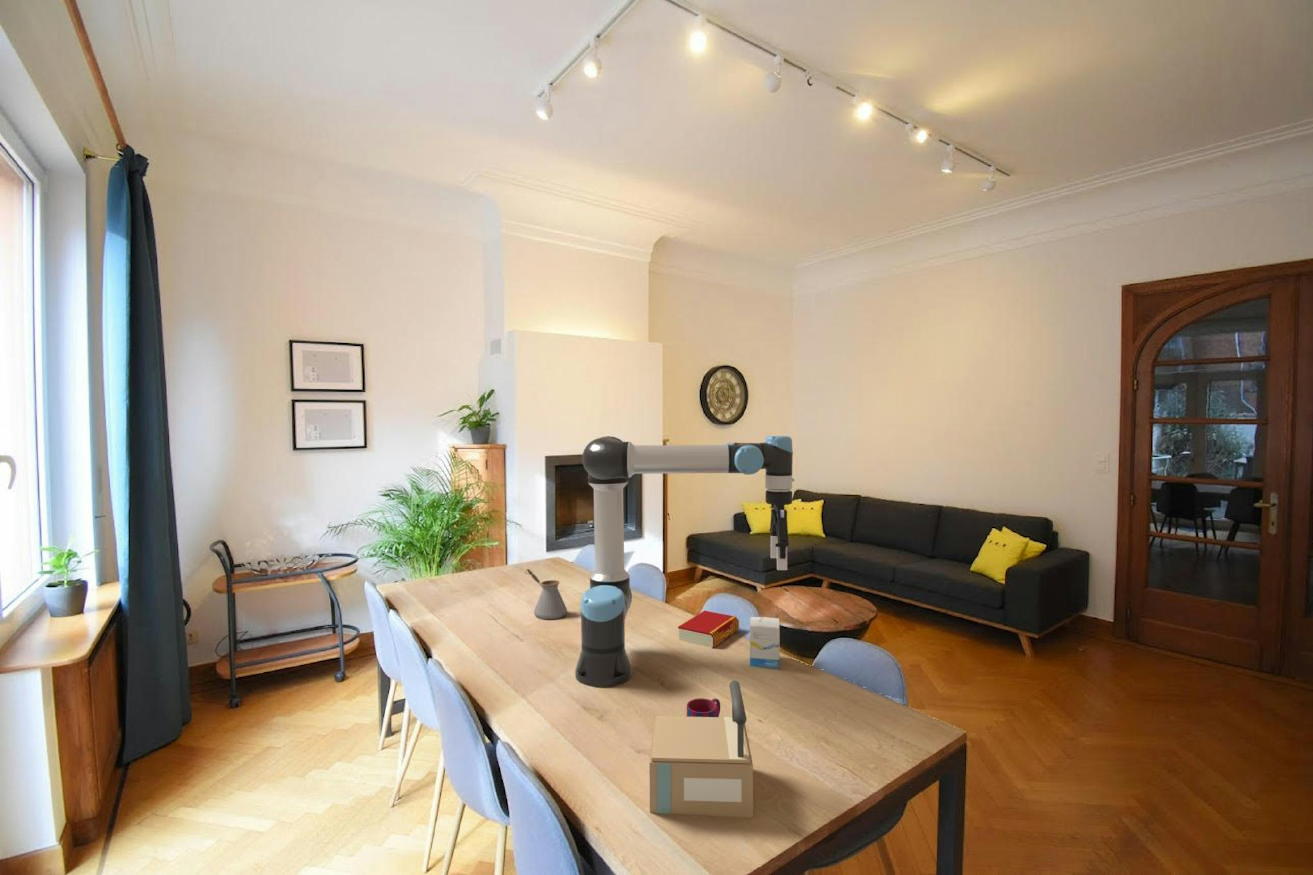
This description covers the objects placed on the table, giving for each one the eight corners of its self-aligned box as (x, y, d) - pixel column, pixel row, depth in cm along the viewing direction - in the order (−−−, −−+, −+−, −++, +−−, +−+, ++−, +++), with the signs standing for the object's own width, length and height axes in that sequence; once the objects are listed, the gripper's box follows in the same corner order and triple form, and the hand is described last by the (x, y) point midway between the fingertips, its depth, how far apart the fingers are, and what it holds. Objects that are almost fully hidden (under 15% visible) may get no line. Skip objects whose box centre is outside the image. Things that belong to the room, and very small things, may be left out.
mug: (680, 735, 129) (680, 705, 129) (710, 719, 136) (710, 690, 136) (702, 747, 124) (702, 716, 124) (732, 730, 131) (732, 700, 131)
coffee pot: (573, 618, 205) (573, 576, 205) (545, 627, 197) (544, 583, 197) (540, 605, 221) (540, 565, 220) (513, 612, 213) (513, 571, 212)
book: (714, 650, 177) (714, 634, 177) (677, 642, 184) (677, 626, 184) (738, 632, 193) (738, 617, 192) (704, 624, 199) (704, 610, 199)
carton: (649, 819, 102) (649, 763, 102) (654, 767, 117) (654, 718, 117) (753, 822, 101) (753, 765, 101) (744, 769, 116) (744, 720, 116)
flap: (651, 761, 102) (651, 713, 102) (655, 718, 117) (655, 677, 117) (749, 763, 102) (749, 716, 101) (742, 720, 116) (741, 679, 116)
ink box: (779, 669, 163) (779, 627, 163) (749, 666, 165) (749, 625, 165) (779, 656, 172) (779, 617, 171) (750, 654, 173) (750, 615, 173)
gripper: (799, 495, 154) (799, 575, 154) (785, 484, 179) (785, 553, 179) (771, 495, 154) (770, 575, 155) (760, 484, 179) (760, 553, 180)
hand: (778, 563), depth 167 cm, fingers open, 13 cm apart
